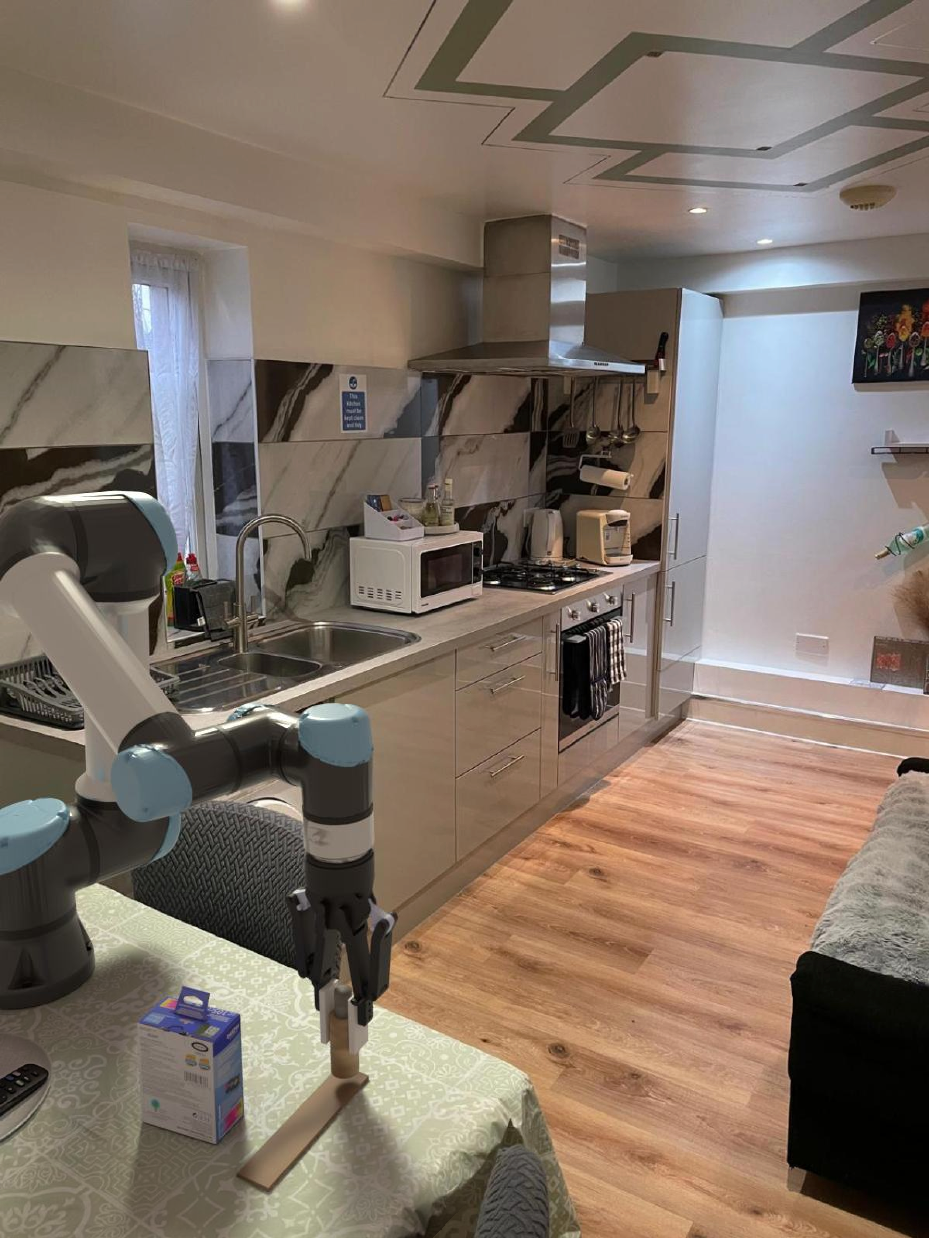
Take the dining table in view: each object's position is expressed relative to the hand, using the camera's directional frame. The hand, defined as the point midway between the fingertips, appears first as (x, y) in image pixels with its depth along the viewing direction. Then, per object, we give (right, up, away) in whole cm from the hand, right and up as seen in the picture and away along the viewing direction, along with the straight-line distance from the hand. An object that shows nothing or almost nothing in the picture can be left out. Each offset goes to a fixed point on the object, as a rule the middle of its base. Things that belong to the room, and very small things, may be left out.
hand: (344, 1041), depth 104 cm
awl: (0, -3, +1) cm, 4 cm away
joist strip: (-3, -7, -5) cm, 9 cm away
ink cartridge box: (-16, -7, -4) cm, 18 cm away
